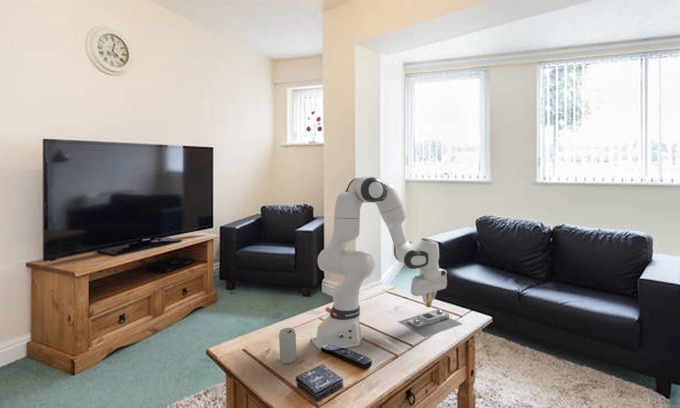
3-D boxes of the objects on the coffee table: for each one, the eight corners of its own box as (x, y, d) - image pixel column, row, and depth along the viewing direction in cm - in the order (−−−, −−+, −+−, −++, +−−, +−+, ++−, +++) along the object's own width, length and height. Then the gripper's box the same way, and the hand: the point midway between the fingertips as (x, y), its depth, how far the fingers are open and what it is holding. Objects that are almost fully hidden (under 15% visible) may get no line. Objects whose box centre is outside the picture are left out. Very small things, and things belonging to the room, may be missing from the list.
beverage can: (291, 365, 137) (290, 335, 135) (276, 362, 139) (275, 333, 138) (299, 357, 142) (298, 328, 141) (285, 354, 145) (284, 325, 143)
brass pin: (428, 307, 170) (428, 291, 169) (424, 305, 172) (424, 289, 171) (433, 306, 171) (433, 290, 170) (428, 304, 174) (428, 288, 173)
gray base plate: (424, 338, 156) (424, 337, 156) (397, 322, 172) (397, 321, 172) (462, 325, 168) (462, 324, 168) (434, 311, 184) (434, 310, 184)
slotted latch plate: (417, 328, 164) (417, 321, 164) (407, 322, 170) (407, 316, 170) (449, 318, 174) (449, 312, 174) (438, 313, 180) (438, 307, 180)
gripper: (417, 278, 162) (417, 308, 163) (449, 270, 172) (448, 298, 174) (407, 275, 167) (407, 303, 169) (439, 267, 177) (439, 294, 179)
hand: (428, 300), depth 171 cm, fingers closed on brass pin, 3 cm apart
